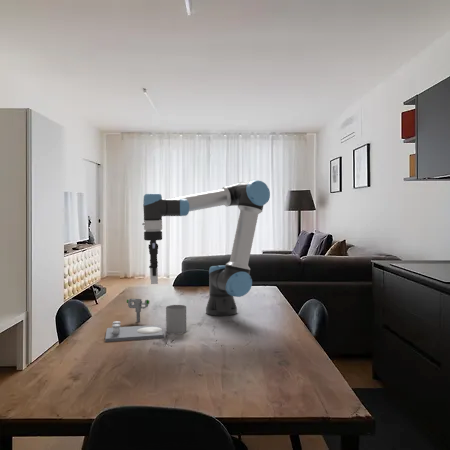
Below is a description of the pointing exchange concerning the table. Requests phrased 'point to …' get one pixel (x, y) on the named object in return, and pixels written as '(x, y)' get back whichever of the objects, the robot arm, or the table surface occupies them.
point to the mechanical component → (137, 306)
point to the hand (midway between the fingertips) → (153, 281)
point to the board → (133, 332)
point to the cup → (176, 319)
